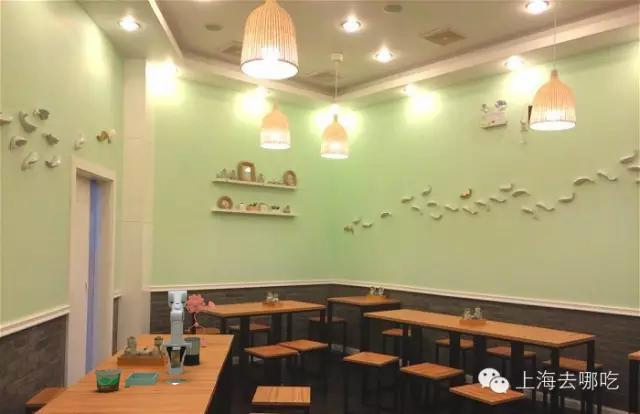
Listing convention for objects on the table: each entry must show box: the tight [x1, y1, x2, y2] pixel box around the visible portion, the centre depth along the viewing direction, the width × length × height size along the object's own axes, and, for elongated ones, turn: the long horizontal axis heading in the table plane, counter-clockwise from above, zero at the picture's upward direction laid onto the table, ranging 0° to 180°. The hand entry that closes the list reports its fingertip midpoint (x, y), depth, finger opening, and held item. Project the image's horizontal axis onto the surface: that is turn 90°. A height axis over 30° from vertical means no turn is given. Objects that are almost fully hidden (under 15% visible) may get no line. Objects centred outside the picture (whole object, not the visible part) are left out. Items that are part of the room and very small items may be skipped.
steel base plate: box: [164, 378, 187, 385], centre depth 278 cm, size 10×10×1 cm
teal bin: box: [124, 371, 160, 388], centre depth 277 cm, size 13×13×4 cm
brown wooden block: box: [171, 350, 181, 368], centre depth 279 cm, size 5×6×8 cm
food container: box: [94, 367, 123, 393], centre depth 263 cm, size 12×6×10 cm, turn 105°
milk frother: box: [183, 336, 202, 366], centre depth 319 cm, size 14×16×15 cm
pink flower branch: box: [184, 293, 216, 347], centre depth 370 cm, size 15×26×35 cm, turn 88°
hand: (176, 362), depth 279 cm, fingers closed on brown wooden block, 4 cm apart
